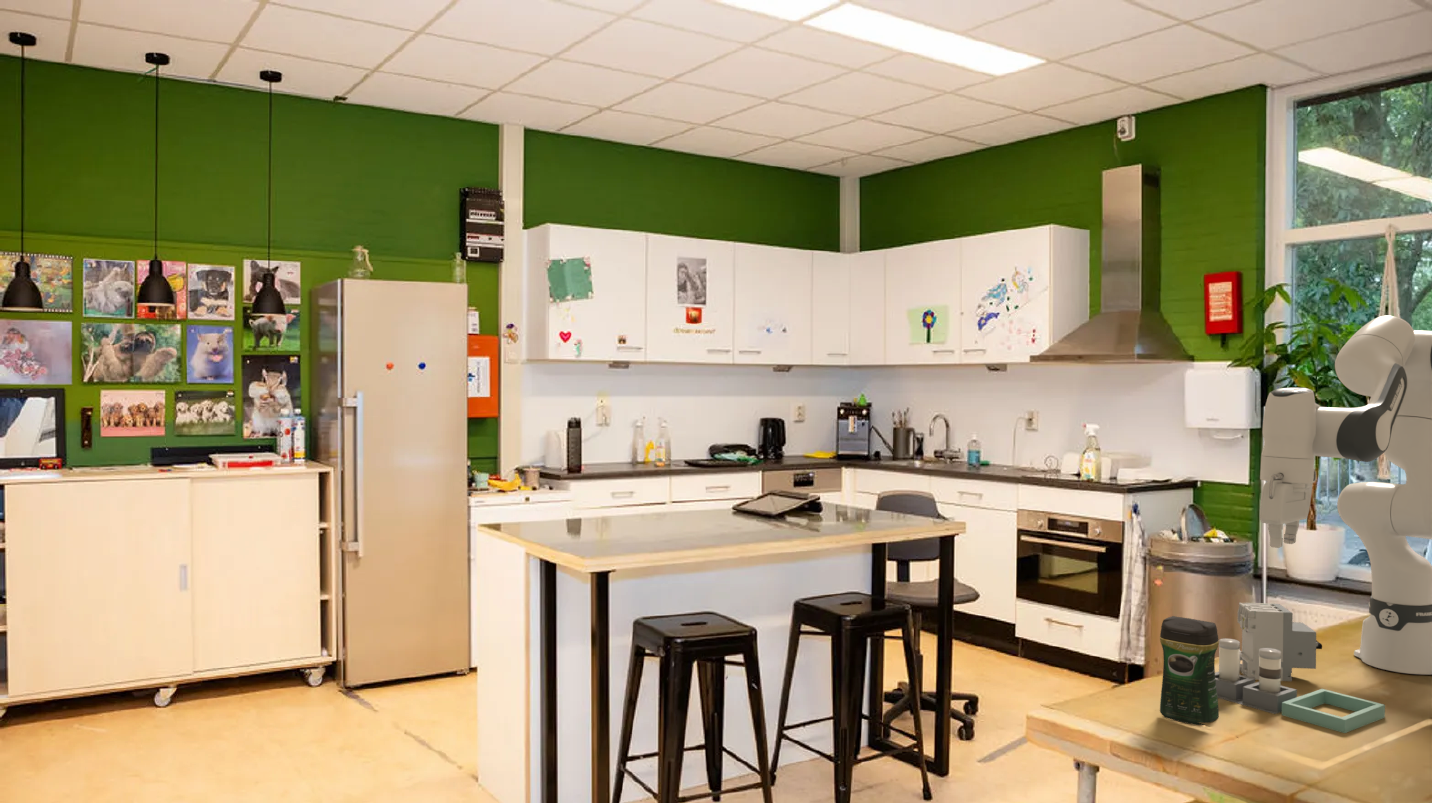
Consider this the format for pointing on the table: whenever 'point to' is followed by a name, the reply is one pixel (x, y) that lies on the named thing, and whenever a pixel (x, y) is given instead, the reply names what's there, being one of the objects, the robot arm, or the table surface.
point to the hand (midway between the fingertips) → (1282, 545)
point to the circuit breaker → (1275, 639)
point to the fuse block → (1253, 694)
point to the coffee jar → (1189, 670)
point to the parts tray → (1301, 711)
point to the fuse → (1229, 660)
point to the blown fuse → (1270, 670)
